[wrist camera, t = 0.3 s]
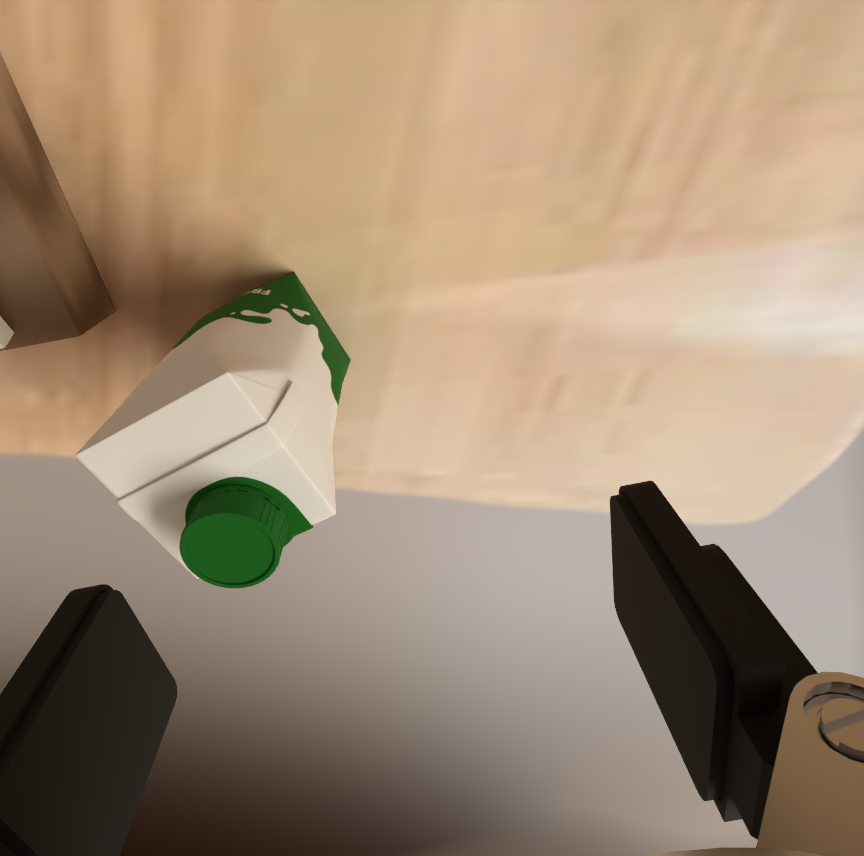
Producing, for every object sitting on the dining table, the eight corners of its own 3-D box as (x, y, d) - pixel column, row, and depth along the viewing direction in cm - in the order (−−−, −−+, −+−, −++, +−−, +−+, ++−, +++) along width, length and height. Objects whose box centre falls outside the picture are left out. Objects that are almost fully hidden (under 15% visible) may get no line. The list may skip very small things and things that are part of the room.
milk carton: (266, 417, 43) (180, 628, 25) (186, 313, 38) (16, 478, 21) (369, 364, 41) (353, 548, 24) (297, 249, 37) (213, 369, 19)
